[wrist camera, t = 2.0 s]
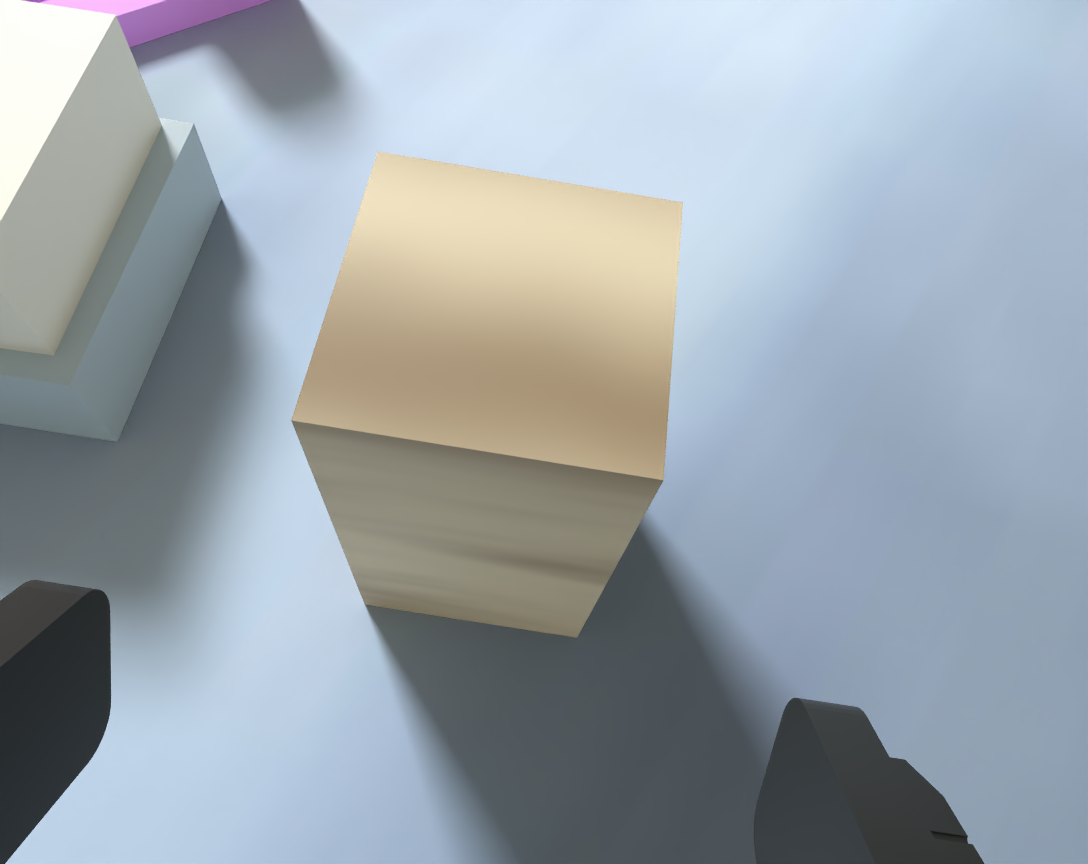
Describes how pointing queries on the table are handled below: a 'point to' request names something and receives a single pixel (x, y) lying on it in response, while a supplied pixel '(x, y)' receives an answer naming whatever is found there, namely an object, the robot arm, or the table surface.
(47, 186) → the tower top
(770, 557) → the table surface
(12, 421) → the tower base
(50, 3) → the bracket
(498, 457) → the maple pillar
